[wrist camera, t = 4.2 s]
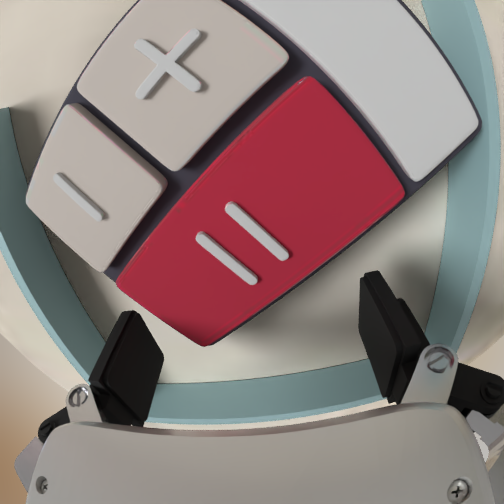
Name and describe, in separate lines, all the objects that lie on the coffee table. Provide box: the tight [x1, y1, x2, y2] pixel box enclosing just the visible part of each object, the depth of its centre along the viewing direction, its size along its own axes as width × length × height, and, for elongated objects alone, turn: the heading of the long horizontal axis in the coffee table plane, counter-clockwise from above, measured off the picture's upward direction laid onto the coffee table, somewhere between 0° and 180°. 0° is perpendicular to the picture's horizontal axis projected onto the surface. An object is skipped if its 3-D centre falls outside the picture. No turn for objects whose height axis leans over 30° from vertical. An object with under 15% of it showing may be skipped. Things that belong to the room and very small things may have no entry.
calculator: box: [26, 0, 482, 347], centre depth 9 cm, size 11×4×15 cm
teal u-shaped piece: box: [0, 0, 500, 424], centre depth 11 cm, size 23×21×3 cm
